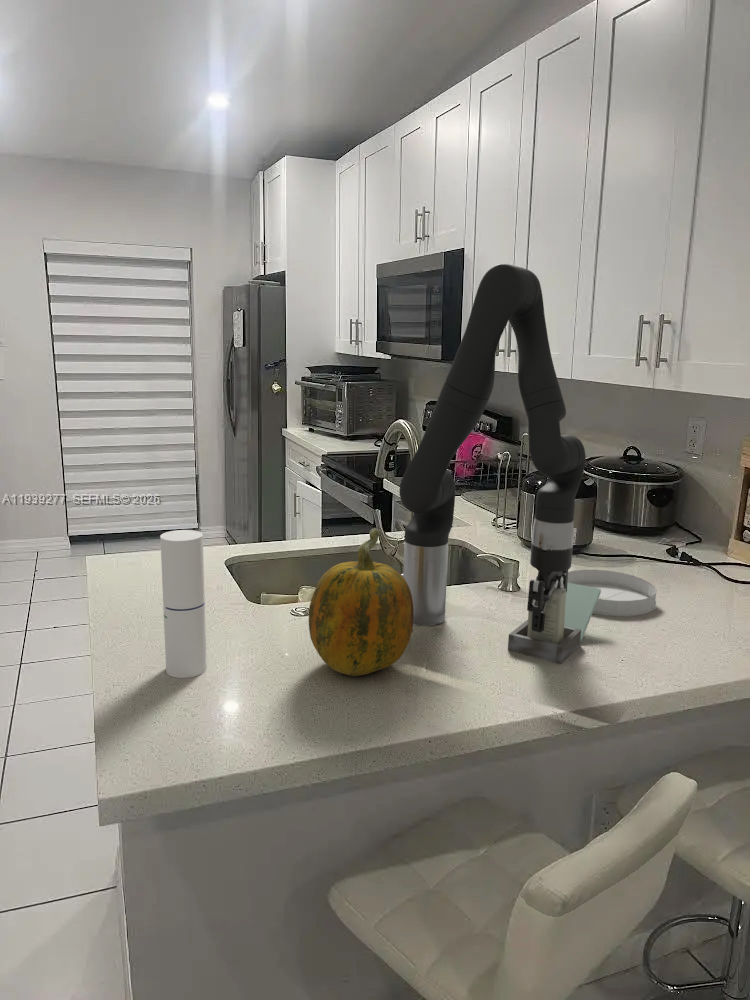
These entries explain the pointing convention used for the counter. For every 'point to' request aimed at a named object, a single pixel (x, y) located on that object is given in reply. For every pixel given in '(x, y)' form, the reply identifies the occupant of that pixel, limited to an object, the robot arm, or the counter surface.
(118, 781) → the counter surface
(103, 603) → the counter surface
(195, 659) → the cylindrical container
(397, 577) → the pumpkin
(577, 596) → the open box lid
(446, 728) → the counter surface
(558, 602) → the skincare box
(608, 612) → the dish
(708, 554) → the counter surface
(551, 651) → the dark grey tray
